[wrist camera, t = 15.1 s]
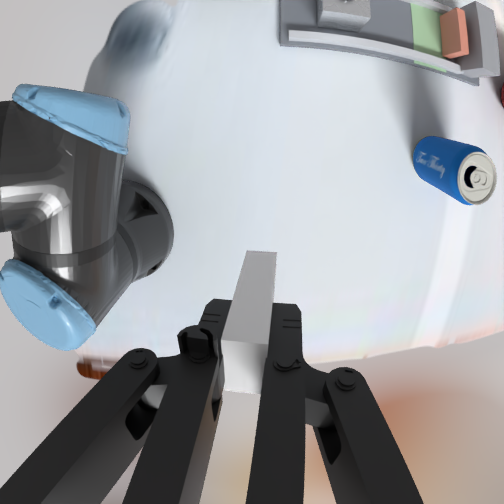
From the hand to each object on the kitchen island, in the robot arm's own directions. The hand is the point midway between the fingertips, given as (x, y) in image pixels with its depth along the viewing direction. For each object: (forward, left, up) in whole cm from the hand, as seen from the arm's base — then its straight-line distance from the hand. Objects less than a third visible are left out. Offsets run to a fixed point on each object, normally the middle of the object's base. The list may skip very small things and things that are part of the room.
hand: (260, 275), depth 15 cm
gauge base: (+14, +23, -24) cm, 36 cm away
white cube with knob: (+7, +23, -23) cm, 33 cm away
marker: (+22, +23, -23) cm, 39 cm away
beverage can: (+21, +5, -25) cm, 33 cm away
